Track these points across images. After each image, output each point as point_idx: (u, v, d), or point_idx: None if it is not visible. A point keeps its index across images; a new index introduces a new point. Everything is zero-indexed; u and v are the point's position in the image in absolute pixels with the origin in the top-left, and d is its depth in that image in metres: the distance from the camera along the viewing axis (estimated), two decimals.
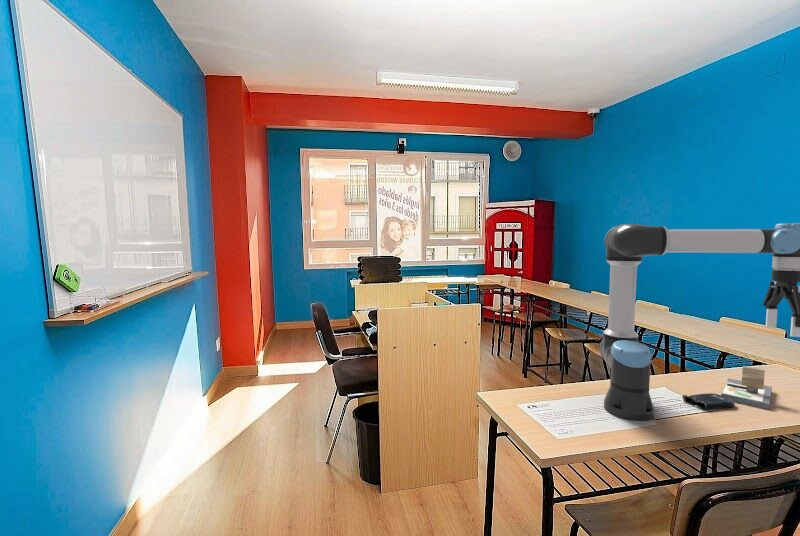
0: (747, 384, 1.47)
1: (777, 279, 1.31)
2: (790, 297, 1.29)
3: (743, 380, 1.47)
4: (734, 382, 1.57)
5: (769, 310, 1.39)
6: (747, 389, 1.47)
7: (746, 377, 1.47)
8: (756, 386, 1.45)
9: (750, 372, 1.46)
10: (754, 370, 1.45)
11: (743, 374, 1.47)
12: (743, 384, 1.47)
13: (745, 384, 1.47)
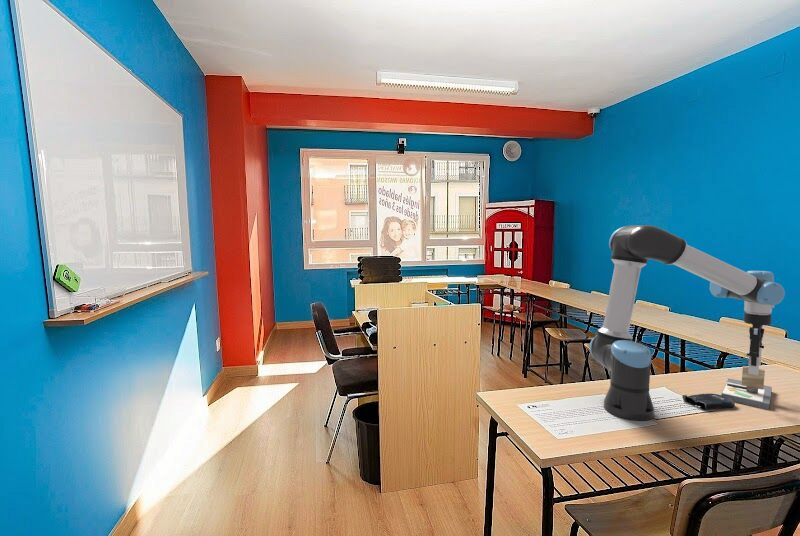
0: (747, 384, 1.47)
1: (744, 321, 1.46)
2: None
3: (743, 380, 1.47)
4: (734, 382, 1.57)
5: None
6: (747, 389, 1.47)
7: (746, 377, 1.47)
8: (756, 386, 1.45)
9: None
10: None
11: (743, 374, 1.47)
12: (743, 384, 1.47)
13: (745, 384, 1.47)
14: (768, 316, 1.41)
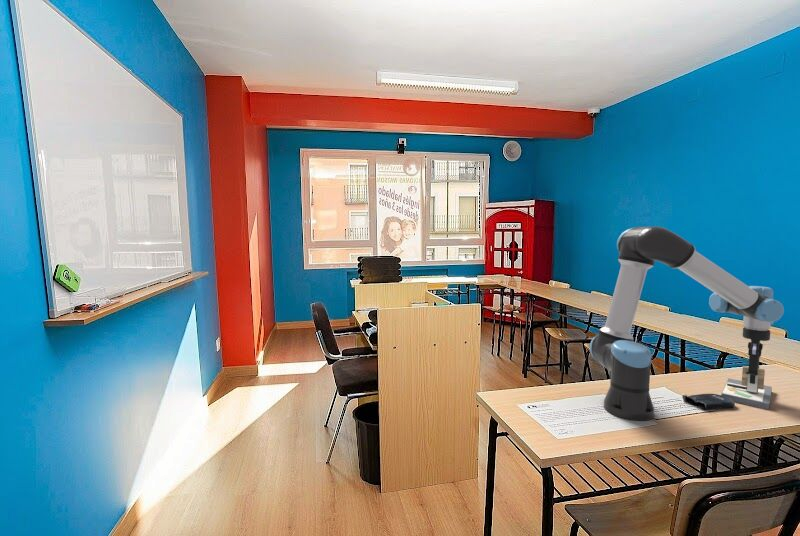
0: None
1: (743, 336, 1.46)
2: None
3: (743, 380, 1.47)
4: (734, 382, 1.57)
5: None
6: None
7: (746, 377, 1.47)
8: None
9: None
10: None
11: (743, 374, 1.47)
12: (743, 384, 1.47)
13: (745, 384, 1.47)
14: (767, 332, 1.41)
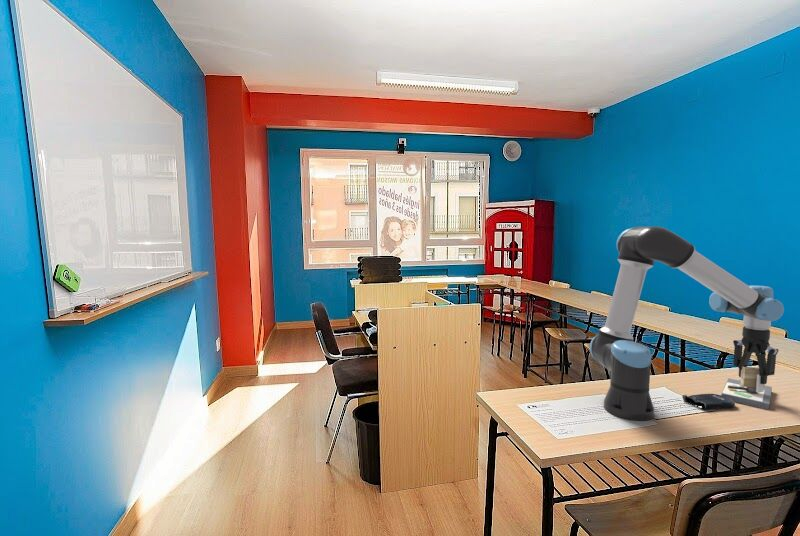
0: (749, 385, 1.46)
1: (754, 338, 1.42)
2: None
3: (745, 381, 1.46)
4: (734, 382, 1.57)
5: None
6: (749, 390, 1.46)
7: (748, 378, 1.46)
8: None
9: (752, 372, 1.45)
10: (756, 370, 1.45)
11: (745, 375, 1.46)
12: (745, 385, 1.46)
13: (747, 385, 1.46)
14: None
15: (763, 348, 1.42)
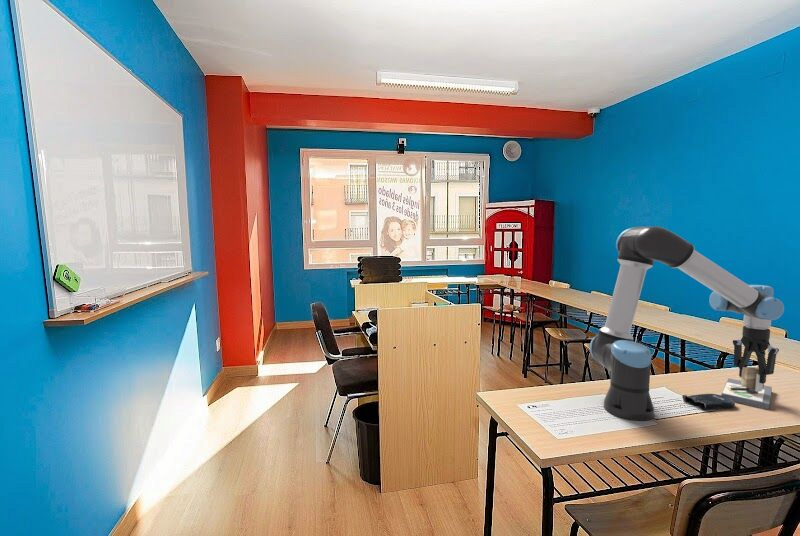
0: (751, 385, 1.45)
1: (755, 337, 1.42)
2: None
3: (747, 382, 1.45)
4: (734, 382, 1.57)
5: None
6: (750, 390, 1.46)
7: (750, 378, 1.45)
8: None
9: (753, 373, 1.45)
10: (756, 370, 1.45)
11: (747, 376, 1.45)
12: (747, 386, 1.45)
13: (749, 386, 1.45)
14: None
15: (764, 347, 1.42)
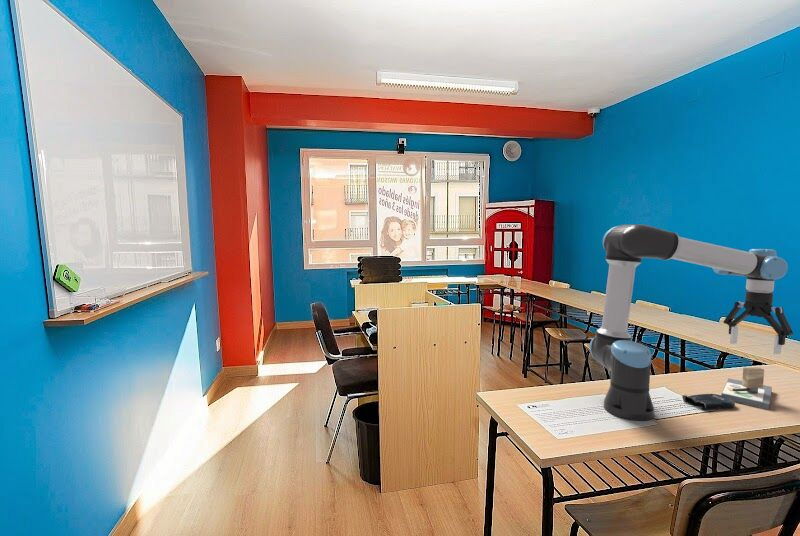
0: (751, 385, 1.45)
1: (758, 301, 1.41)
2: (769, 317, 1.40)
3: (748, 382, 1.45)
4: (734, 382, 1.57)
5: (734, 328, 1.50)
6: (751, 390, 1.46)
7: (751, 379, 1.45)
8: (757, 385, 1.45)
9: (754, 373, 1.45)
10: (757, 370, 1.45)
11: (749, 376, 1.45)
12: (748, 386, 1.45)
13: (750, 386, 1.45)
14: None
15: (767, 311, 1.41)
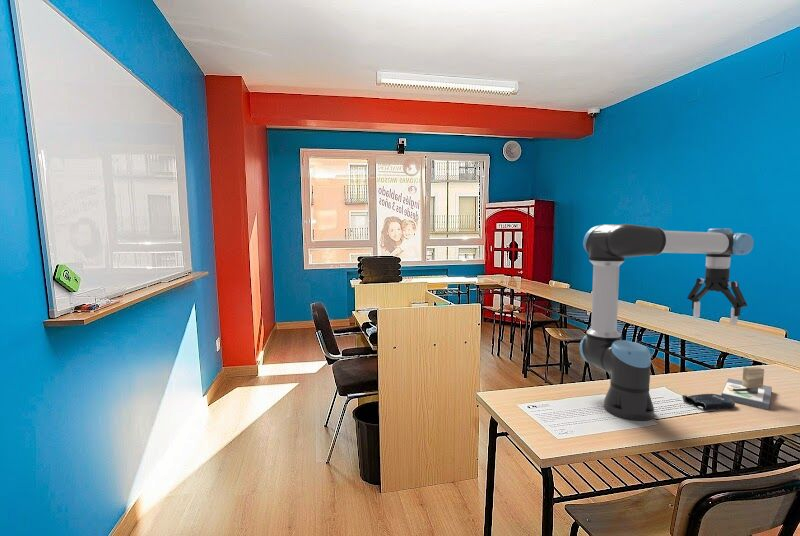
0: (752, 385, 1.45)
1: (716, 276, 1.52)
2: (726, 291, 1.51)
3: (749, 382, 1.45)
4: (734, 382, 1.57)
5: (696, 303, 1.61)
6: (751, 390, 1.46)
7: (751, 379, 1.45)
8: (757, 385, 1.45)
9: (754, 373, 1.45)
10: (757, 370, 1.45)
11: (749, 376, 1.45)
12: (749, 386, 1.45)
13: (750, 386, 1.45)
14: None
15: (724, 285, 1.52)
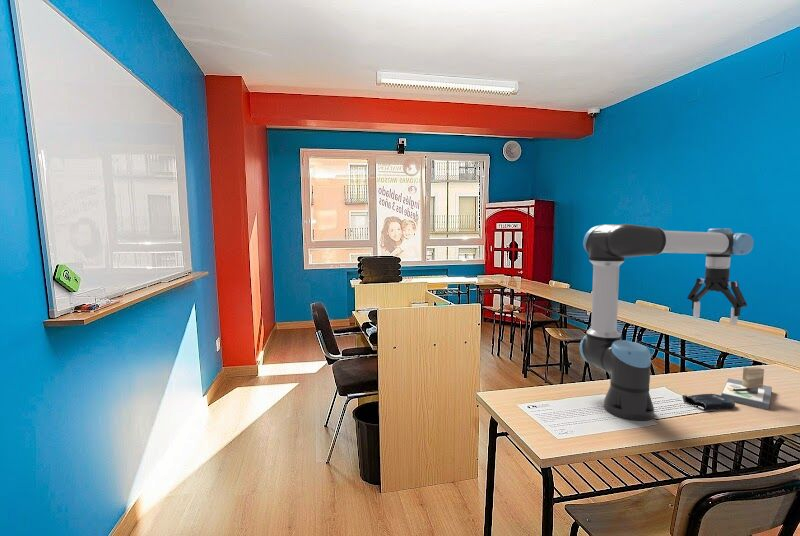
0: (752, 385, 1.45)
1: (716, 276, 1.52)
2: (726, 291, 1.51)
3: (749, 382, 1.45)
4: (734, 382, 1.57)
5: (696, 303, 1.61)
6: (751, 390, 1.46)
7: (751, 379, 1.45)
8: (757, 385, 1.45)
9: (754, 373, 1.45)
10: (757, 370, 1.45)
11: (749, 376, 1.45)
12: (749, 386, 1.45)
13: (750, 386, 1.45)
14: None
15: (724, 285, 1.52)
